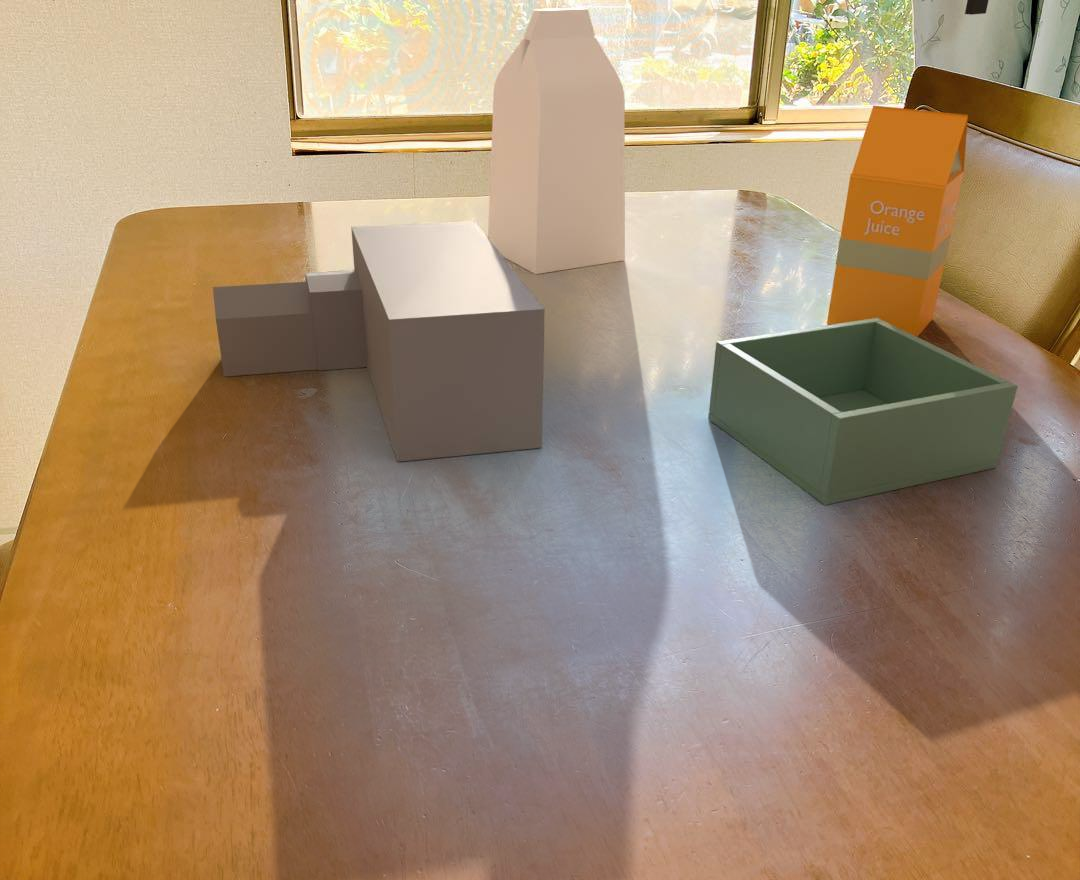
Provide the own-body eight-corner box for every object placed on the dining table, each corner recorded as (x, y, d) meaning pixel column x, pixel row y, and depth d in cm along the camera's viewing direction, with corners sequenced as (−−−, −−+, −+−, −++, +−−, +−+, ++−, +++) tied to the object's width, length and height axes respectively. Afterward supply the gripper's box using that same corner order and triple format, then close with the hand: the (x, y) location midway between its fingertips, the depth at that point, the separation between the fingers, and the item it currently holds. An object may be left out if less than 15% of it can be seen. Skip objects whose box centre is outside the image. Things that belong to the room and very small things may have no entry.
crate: (996, 467, 81) (1018, 385, 77) (824, 505, 75) (840, 418, 72) (863, 391, 93) (877, 317, 89) (707, 419, 87) (715, 341, 84)
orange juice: (914, 341, 104) (959, 121, 94) (825, 323, 108) (859, 110, 97) (934, 318, 110) (978, 109, 99) (848, 302, 113) (882, 99, 103)
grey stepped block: (223, 354, 98) (206, 233, 92) (476, 336, 103) (474, 220, 97) (225, 478, 77) (203, 332, 71) (541, 447, 82) (544, 308, 77)
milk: (535, 274, 120) (539, 15, 107) (487, 248, 129) (485, 6, 115) (624, 260, 125) (639, 12, 112) (573, 236, 134) (580, 3, 121)
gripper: (949, -241, 101) (906, 10, 112) (1230, -265, 85) (1148, 33, 95) (992, -234, 105) (946, 8, 116) (1268, -256, 89) (1185, 28, 100)
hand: (1037, 19), depth 106 cm, fingers open, 13 cm apart
